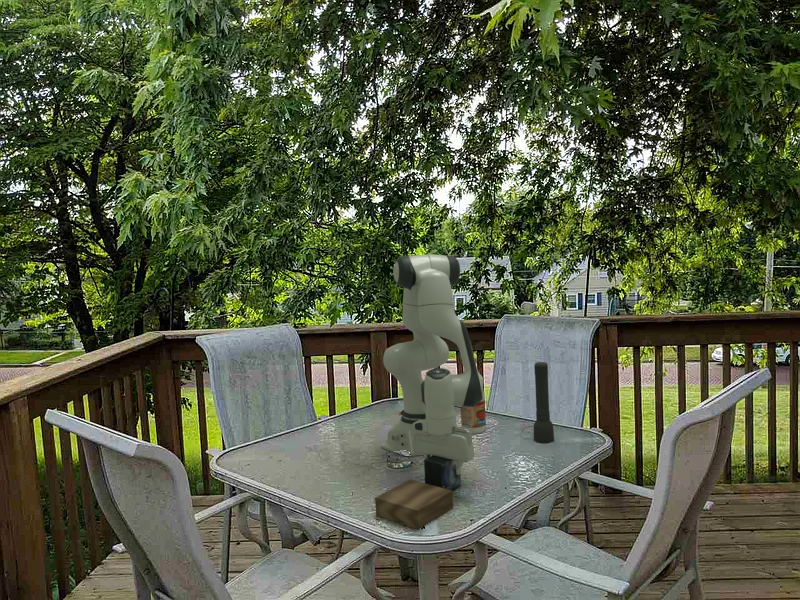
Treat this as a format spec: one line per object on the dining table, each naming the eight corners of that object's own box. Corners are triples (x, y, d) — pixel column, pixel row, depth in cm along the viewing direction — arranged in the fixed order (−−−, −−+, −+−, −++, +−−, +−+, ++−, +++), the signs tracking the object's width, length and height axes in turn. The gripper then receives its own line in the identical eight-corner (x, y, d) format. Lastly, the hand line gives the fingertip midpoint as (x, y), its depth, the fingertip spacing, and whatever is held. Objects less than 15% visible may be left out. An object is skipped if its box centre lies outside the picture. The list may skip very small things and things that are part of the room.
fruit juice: (463, 426, 243) (460, 356, 241) (487, 426, 241) (484, 356, 238) (459, 433, 234) (455, 361, 232) (484, 434, 232) (480, 361, 229)
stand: (376, 515, 168) (374, 497, 168) (411, 496, 180) (410, 479, 179) (418, 529, 159) (417, 510, 158) (453, 508, 170) (452, 490, 170)
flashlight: (556, 442, 218) (551, 436, 225) (553, 364, 215) (548, 360, 222) (536, 443, 218) (531, 437, 225) (533, 365, 215) (528, 361, 222)
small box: (443, 499, 176) (441, 463, 175) (424, 494, 180) (422, 459, 179) (462, 486, 185) (460, 452, 184) (444, 482, 189) (442, 448, 188)
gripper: (477, 426, 176) (479, 473, 177) (420, 417, 189) (423, 461, 191) (464, 432, 172) (467, 481, 173) (407, 423, 185) (410, 468, 186)
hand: (444, 470), depth 182 cm, fingers open, 8 cm apart
